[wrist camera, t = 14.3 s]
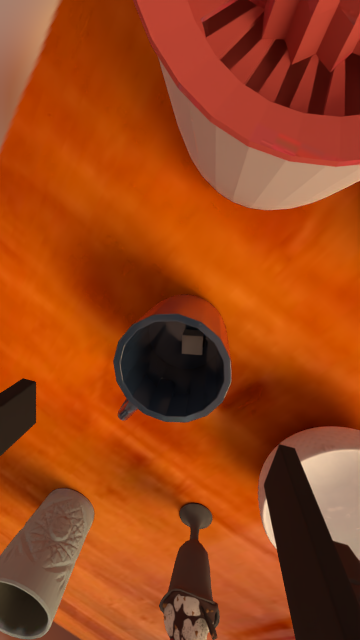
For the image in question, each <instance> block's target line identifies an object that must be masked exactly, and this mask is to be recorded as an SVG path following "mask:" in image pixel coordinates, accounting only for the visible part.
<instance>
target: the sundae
mask: <svg viewBox="0 0 360 640" xmlns="http://www.w3.org/2000/svg"><path fill="white" fill-rule="evenodd" d="M180 518H181V520H182V522H183V523H184V524H186V525H187V526H189V527H190V528H191V535H190V540H189V541H186V542H185V543H184V544H183V545H182V546H181V547H180V548H179V551H178V554H177V558H176V561H175V565H174V569H173V573H172V578H171V582H170V586H169V590H168V593H167V594H166V595H165V596H164V597H163V598H162V600H161V602H160V605H159V607H160V610H161V611H162V612H163V613H164V623H165V628H166V631H167V633H168V635H169V637H170V640H207V634H208V632H210V634H211V636H212V639H213V640H215V639H217V634H216V630H215V628H216V627H217V625H218V623H219V617H220V616H219V609H218V604H217V603H216V602H214V601H213V599H212V591H211V579H210V567H209V560H208V554H207V552H206V550H205V549H204V547H203V546H202V544H200V543H199V541H198V534H199V529H203V528H206V527H208V526H209V525H210V524H211V522H212V514H211V512H210V511H209V510H208V509H207V508H206V507H204V506H202V505H200V504H195V503H191V504H187V505H185V506H183V507H182V508H181V510H180Z"/></svg>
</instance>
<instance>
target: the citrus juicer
mask: <svg viewBox="0 0 360 640" xmlns="http://www.w3.org/2000/svg"><path fill="white" fill-rule="evenodd" d="M133 1H134V4H135V6H136V9H137V11H138V14H139V16H140V19H141V21H142V24H143V26H144V29H145V31H146V34H147V37H148V39H149V42H150V44H151V46H152V48H153V49H154V51H155V53H156V54H157V56H158V58H159V62H160V65H161V69H162V72H163V76H164V79H165V83H166V86H167V90H168V93H169V97H170V100H171V104H172V107H173V111H174V114H175V118H176V121H177V125H178V128H179V130H180V133H181V135H182V137H183V140H184V142H185V145H186V147H187V150H188V152H189V155H190V157H191V159H192V161H193V163H194V164H195V166H196V167H197V169H198V170H199V172H200V173H201V175H202V176H203V177H204V178H205V179H206V181H207V182H208V183H209V184H210V185H211V186H212V187H213V188H214V189H215V190H216V191H217V192H218V193H220V194H221V195H223V196H224V197H226V198H227V199H229V200H231V201H232V202H234V203H237V204H240V205H242V206H245V207H248V208H254V209H261V210H278V209H291V208H295V207H299V206H302V205H306V204H310V203H313V202H316V201H318V200H321V199H323V198H326V197H328V196H330V195H332V194H334V193H336V192H338V191H340V190H342V189H345V188H347V187H349V186H351V185H353V184H354V183H356V182H358V181H360V0H133Z"/></svg>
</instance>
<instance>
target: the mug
mask: <svg viewBox="0 0 360 640" xmlns="http://www.w3.org/2000/svg"><path fill="white" fill-rule="evenodd" d="M185 329H188V330H200V331H201V332H202V333H203V334H204V335H203V336H204V338H205V339H206V340H205V341H206V342H205V346H204V348H203V352H202V355H194V354H182V335H183V332H184V330H185ZM113 363H114V369H115V375H116V381H117V383H118V385H119V387H120V388H121V390H122V392H123V393H124V395H125V397H126V400H125V402H124V403H123V405H122V406H121V408H120V410H119V411H118V417H119V419H120V420H127V419H128V418H129V417H130V416H131V415H132V414H133V413H134V412H135V411H136V410H137V409H139V410H140V411H141V412H143V413H144V414H146V415H148V416H151V417H154V418H156V419H159V420H162V421H165V422H190V421H193V420H196V419H198V418H201V417H204V416H207V415H208V414H209V413H211V412H212V411H213V410H214V409H215V408H216V407H217V406H219V405H220V404H221V403H222V402H223V400H224V398H225V396H226V393H227V391H228V389H229V387H230V385H231V381H232V377H231V357H230V350H229V344H228V337H227V331H226V326H225V324H224V321H223V319H222V317H221V315H220V313H219V312H218V311H217V309H216V308H215V307H214V306H213V305H212V304H210V303H209V302H208V301H206V300H204V299H202V298H200V297H197V296H194V295H188V294H181V295H175V296H171V297H169V298H166V299H165V300H163V301H161V302H159V303H158V304H156V305H155V306H154V307H153V308H152V309H150V310H149V311H148V312H147V313H146V314H144V315H143V316H142V317H141V318H140V319H138V320H137V321H136V322H135V323H134V324H132V325H131V327H130V328H129V329H128V330H127V332H126V333H125V334H124V335H123V336H122V338H121V339H120V340H119V342H118V345H117V349H116V353H115V357H114V361H113Z"/></svg>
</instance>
